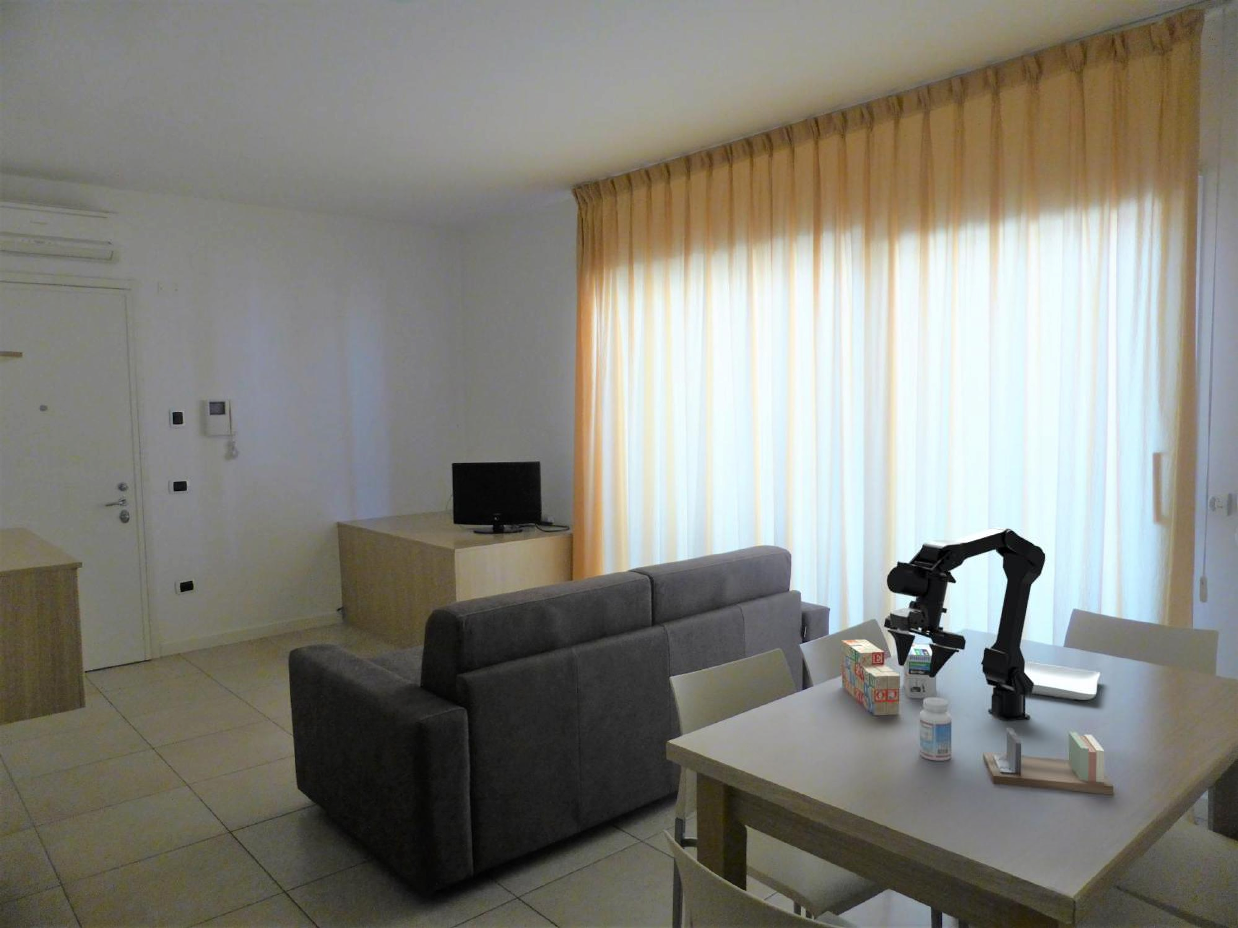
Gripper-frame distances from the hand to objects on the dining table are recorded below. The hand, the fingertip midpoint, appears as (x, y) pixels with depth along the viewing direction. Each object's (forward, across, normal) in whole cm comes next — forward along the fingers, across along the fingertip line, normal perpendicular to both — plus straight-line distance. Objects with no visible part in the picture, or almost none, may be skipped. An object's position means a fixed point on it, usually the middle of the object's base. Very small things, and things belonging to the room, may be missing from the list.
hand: (915, 671), depth 181 cm
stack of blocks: (+12, -22, +8) cm, 26 cm away
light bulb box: (+9, -21, +23) cm, 33 cm away
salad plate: (+1, -11, +55) cm, 56 cm away
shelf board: (+12, +27, +10) cm, 31 cm away
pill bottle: (+15, +11, -2) cm, 18 cm away
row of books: (+9, +31, +15) cm, 36 cm away
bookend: (+11, +23, +4) cm, 26 cm away
